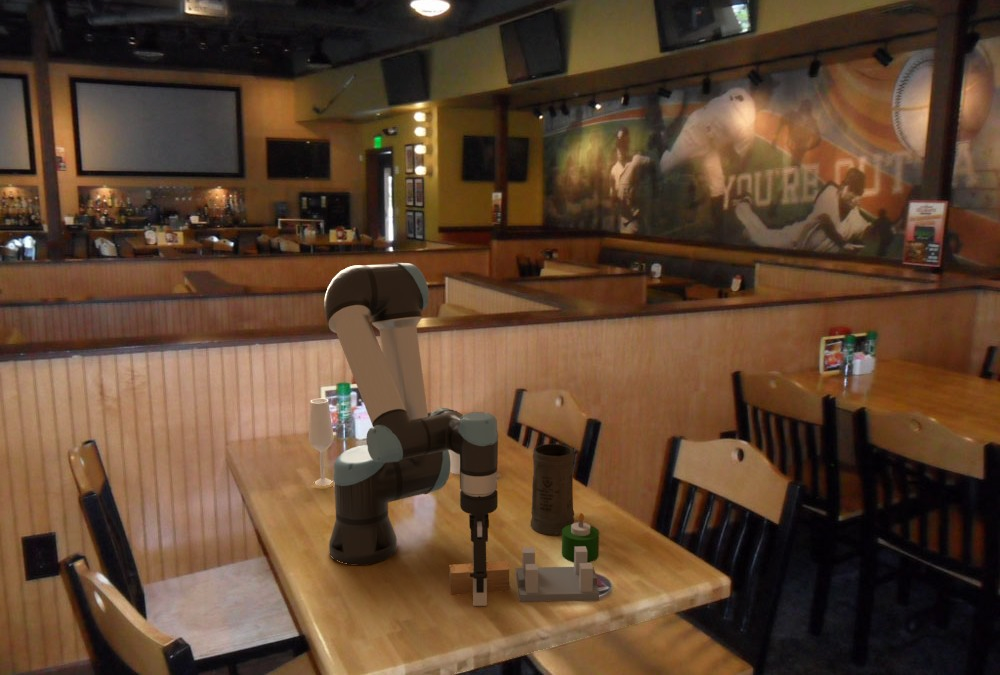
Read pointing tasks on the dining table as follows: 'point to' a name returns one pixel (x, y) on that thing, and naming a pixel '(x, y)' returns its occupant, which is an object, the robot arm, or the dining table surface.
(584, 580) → the jig
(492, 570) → the block
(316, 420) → the champagne flute
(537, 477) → the beer stein
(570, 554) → the candle
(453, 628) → the dining table surface
